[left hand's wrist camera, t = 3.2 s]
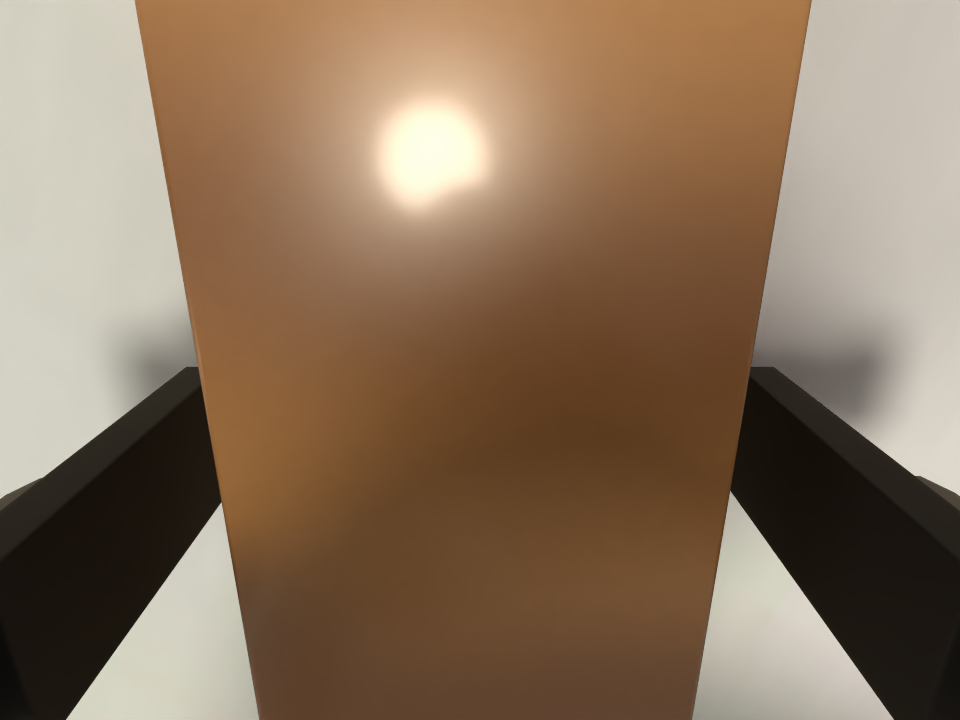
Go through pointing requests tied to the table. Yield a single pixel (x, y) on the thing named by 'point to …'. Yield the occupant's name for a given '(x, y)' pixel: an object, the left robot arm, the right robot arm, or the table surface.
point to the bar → (474, 333)
